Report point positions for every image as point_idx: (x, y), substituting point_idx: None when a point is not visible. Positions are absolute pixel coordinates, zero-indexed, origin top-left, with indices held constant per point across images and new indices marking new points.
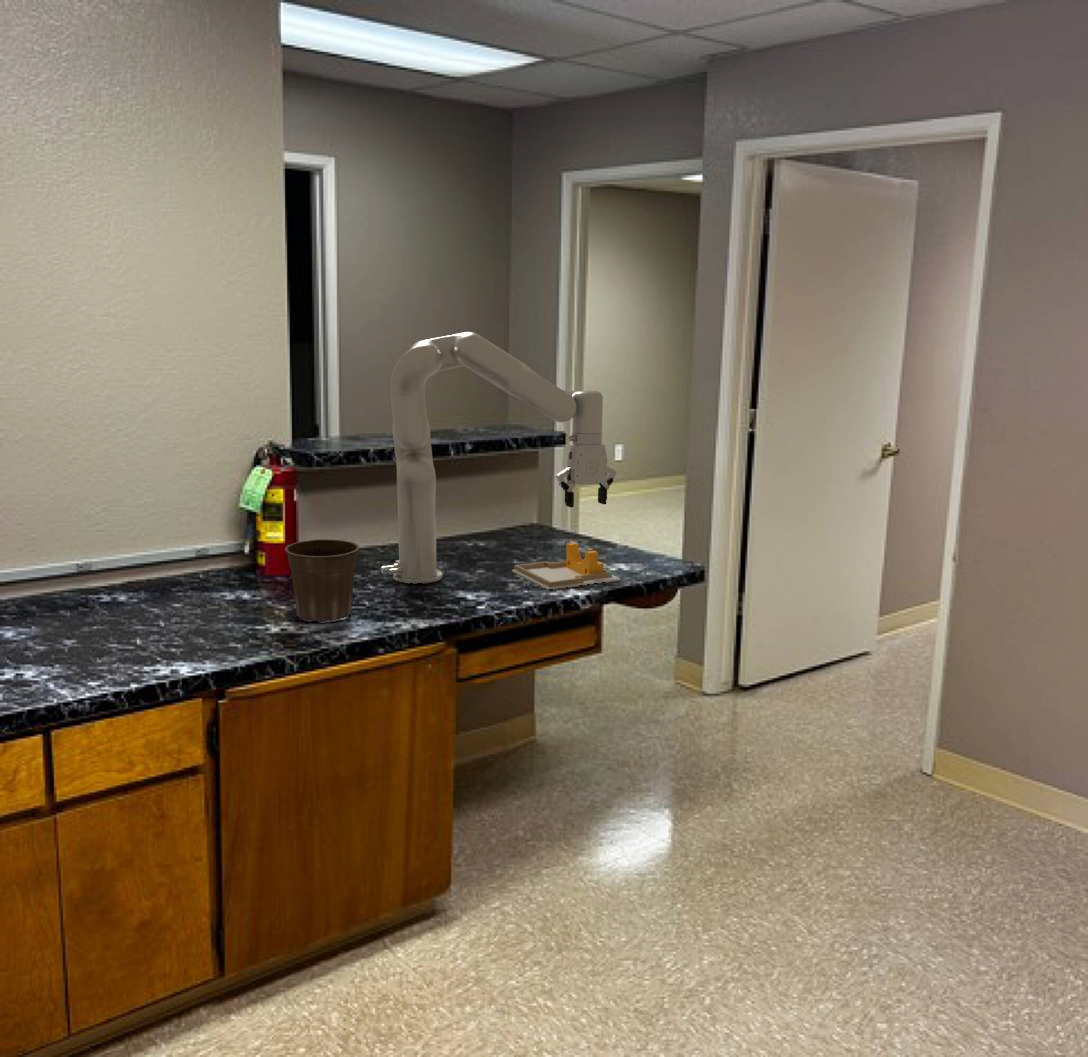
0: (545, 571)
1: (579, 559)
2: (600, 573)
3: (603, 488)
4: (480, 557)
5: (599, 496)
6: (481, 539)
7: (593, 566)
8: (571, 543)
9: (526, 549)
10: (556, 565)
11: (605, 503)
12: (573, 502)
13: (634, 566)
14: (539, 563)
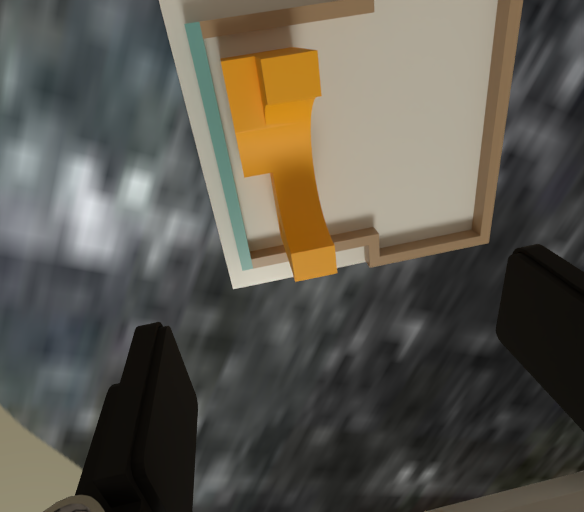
0: (405, 190)
1: (291, 193)
2: (248, 17)
3: (136, 510)
4: (469, 381)
5: (186, 436)
6: (386, 503)
7: (276, 52)
8: (316, 269)
9: (329, 432)
10: (348, 235)
11: (144, 326)
12: (546, 272)
13: (34, 204)
14: (403, 250)
